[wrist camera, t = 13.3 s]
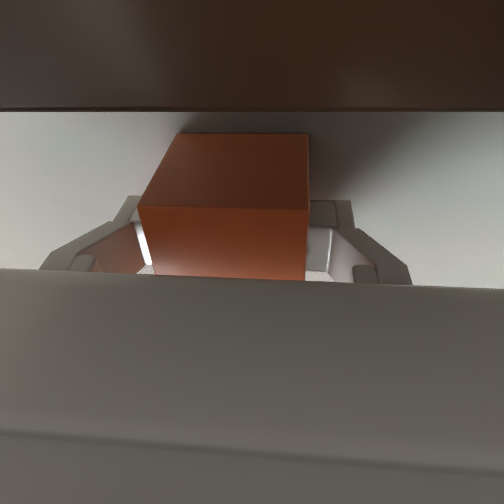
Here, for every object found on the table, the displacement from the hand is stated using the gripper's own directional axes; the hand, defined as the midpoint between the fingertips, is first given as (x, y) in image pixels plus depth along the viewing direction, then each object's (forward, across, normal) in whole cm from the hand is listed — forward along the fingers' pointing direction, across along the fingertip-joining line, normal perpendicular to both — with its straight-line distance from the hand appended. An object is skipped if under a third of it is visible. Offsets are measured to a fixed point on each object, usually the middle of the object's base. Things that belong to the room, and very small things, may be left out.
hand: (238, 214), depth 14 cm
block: (+2, 0, 0) cm, 2 cm away
